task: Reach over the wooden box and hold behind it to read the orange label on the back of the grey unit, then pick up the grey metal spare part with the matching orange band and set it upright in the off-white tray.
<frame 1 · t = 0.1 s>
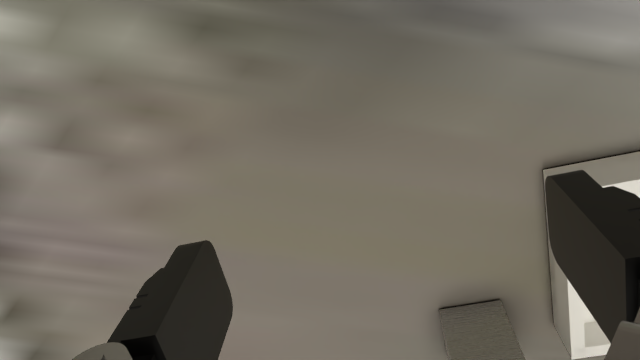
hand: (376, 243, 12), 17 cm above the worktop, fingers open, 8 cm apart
spare part: (472, 328, 35), on the worktop
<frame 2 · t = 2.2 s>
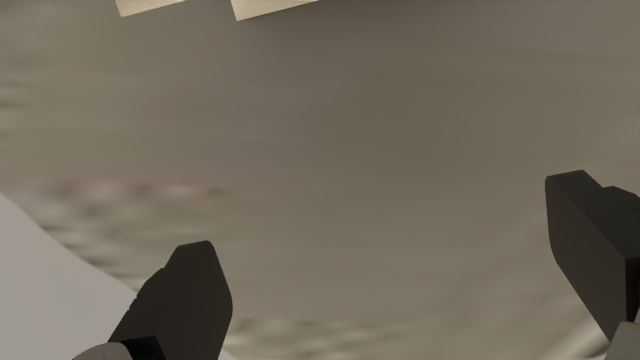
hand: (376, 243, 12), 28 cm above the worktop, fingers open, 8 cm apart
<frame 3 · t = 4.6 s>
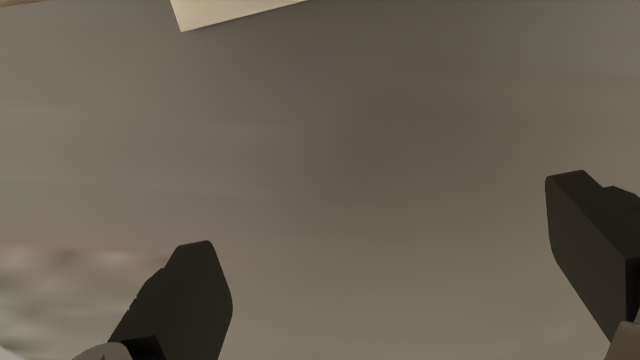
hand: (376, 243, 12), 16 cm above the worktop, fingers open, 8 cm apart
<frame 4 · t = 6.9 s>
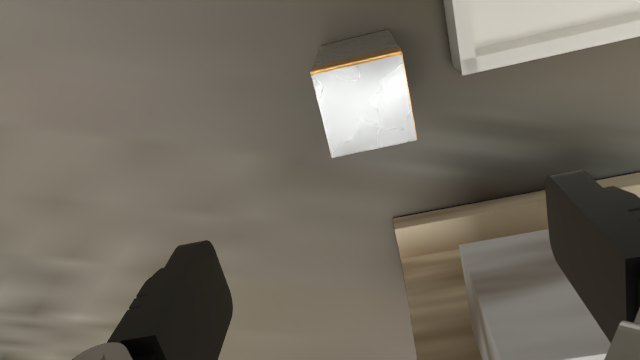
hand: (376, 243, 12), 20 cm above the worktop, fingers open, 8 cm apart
spare part: (361, 71, 31), on the worktop
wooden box: (520, 235, 34), on the worktop
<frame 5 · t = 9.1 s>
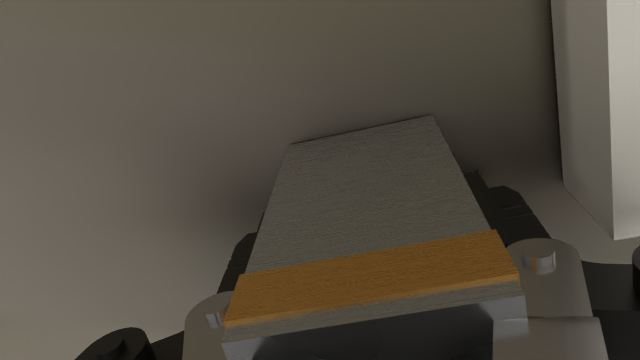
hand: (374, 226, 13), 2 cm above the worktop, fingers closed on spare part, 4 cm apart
spare part: (373, 195, 15), on the worktop, touching gripper
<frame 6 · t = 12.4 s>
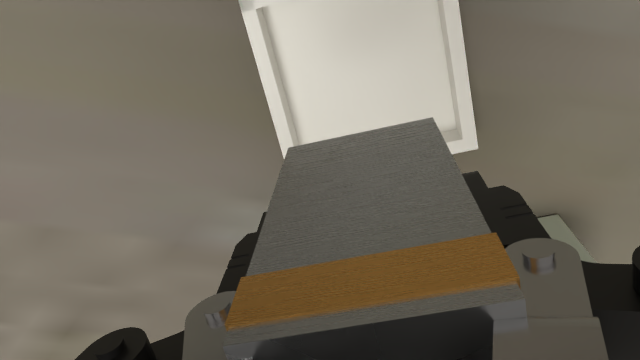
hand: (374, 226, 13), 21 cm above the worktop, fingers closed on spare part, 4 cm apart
spare part: (373, 197, 15), point 19 cm above the worktop, touching gripper
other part: (530, 244, 37), on the worktop
tray: (362, 66, 32), on the worktop
when the fingers open (4 cm above the worktop, at t = 15.8 s): spare part drops 1 cm, resting on tray.
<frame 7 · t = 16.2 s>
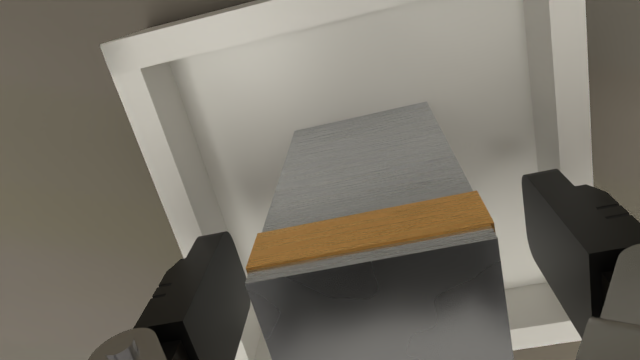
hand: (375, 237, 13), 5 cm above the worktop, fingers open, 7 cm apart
spare part: (373, 176, 16), point 1 cm above the worktop, touching tray
tray: (369, 164, 17), on the worktop
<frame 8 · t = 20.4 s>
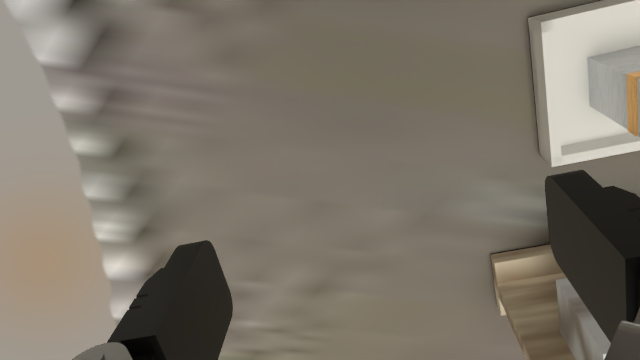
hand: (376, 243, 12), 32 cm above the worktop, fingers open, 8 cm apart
spare part: (615, 76, 41), point 1 cm above the worktop, touching tray
tray: (608, 73, 42), on the worktop
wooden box: (580, 266, 49), on the worktop
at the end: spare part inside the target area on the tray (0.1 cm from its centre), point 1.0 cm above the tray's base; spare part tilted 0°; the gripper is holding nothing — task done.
